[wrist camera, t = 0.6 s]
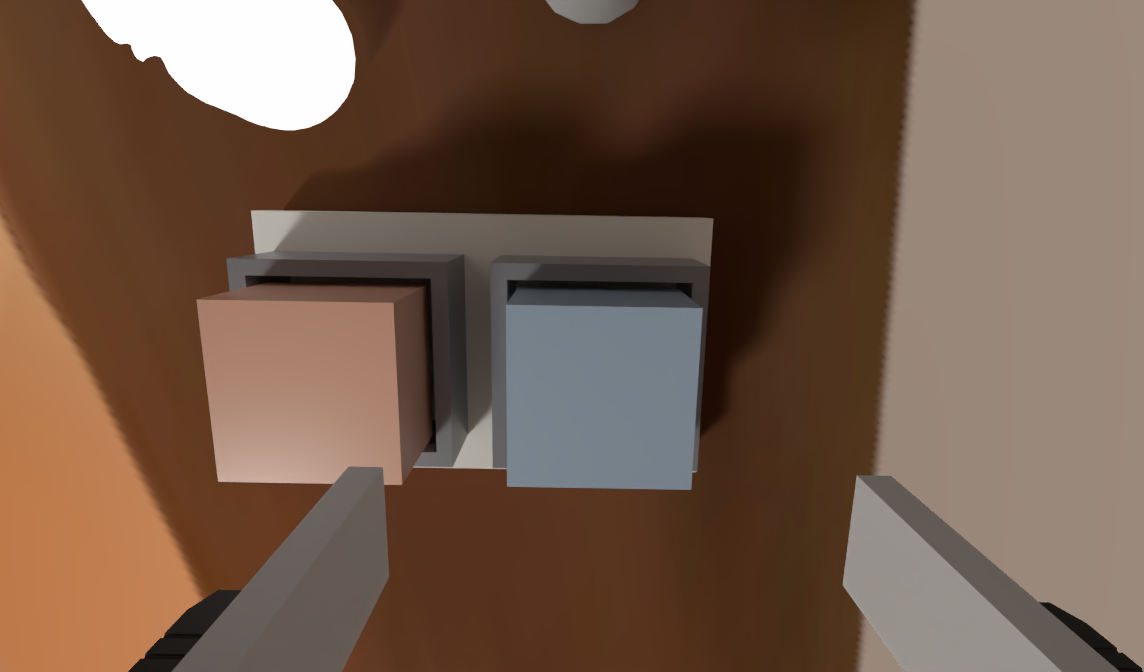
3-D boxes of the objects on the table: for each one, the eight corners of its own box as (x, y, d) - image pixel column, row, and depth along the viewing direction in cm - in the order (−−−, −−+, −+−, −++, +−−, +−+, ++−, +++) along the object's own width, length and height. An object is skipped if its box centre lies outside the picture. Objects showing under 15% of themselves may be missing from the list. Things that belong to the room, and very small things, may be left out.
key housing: (281, 210, 31) (199, 211, 24) (700, 217, 31) (735, 220, 24) (301, 442, 34) (232, 502, 27) (686, 449, 34) (714, 510, 27)
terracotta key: (267, 282, 26) (196, 299, 21) (427, 284, 26) (393, 303, 21) (281, 432, 28) (218, 481, 23) (432, 435, 28) (402, 484, 23)
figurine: (224, -38, 29) (-16, -205, 17) (369, -3, 29) (232, -144, 17) (210, 114, 30) (-19, 56, 19) (349, 146, 31) (209, 109, 19)
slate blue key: (518, 286, 26) (505, 304, 21) (678, 288, 26) (702, 308, 21) (519, 436, 28) (507, 486, 23) (670, 439, 28) (691, 489, 23)
